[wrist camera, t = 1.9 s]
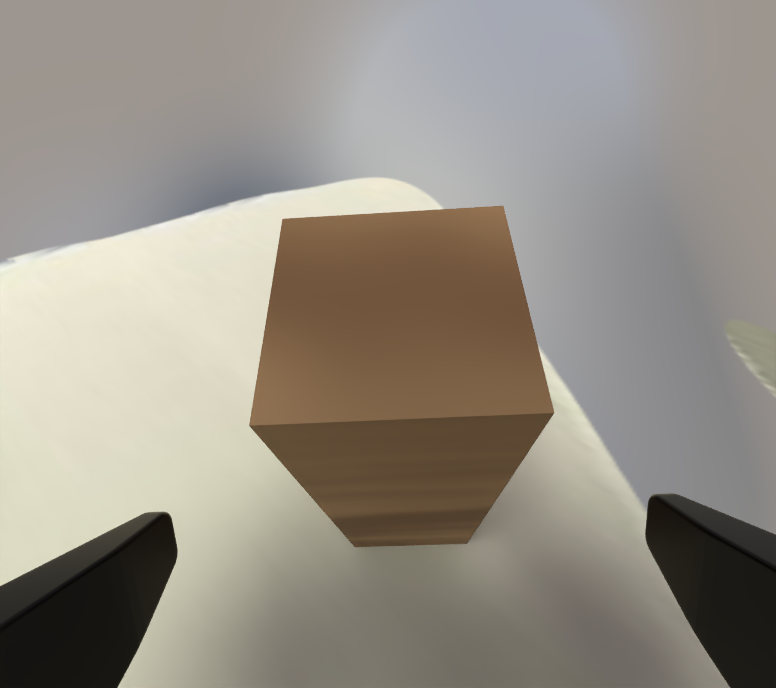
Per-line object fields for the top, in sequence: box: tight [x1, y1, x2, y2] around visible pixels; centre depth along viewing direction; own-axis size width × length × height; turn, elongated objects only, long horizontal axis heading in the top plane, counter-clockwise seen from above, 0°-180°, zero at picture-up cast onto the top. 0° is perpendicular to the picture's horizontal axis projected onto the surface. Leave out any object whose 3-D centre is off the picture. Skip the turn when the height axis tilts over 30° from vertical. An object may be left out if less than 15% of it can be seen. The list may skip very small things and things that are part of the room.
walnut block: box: [249, 206, 554, 547], centre depth 13 cm, size 4×4×13 cm
